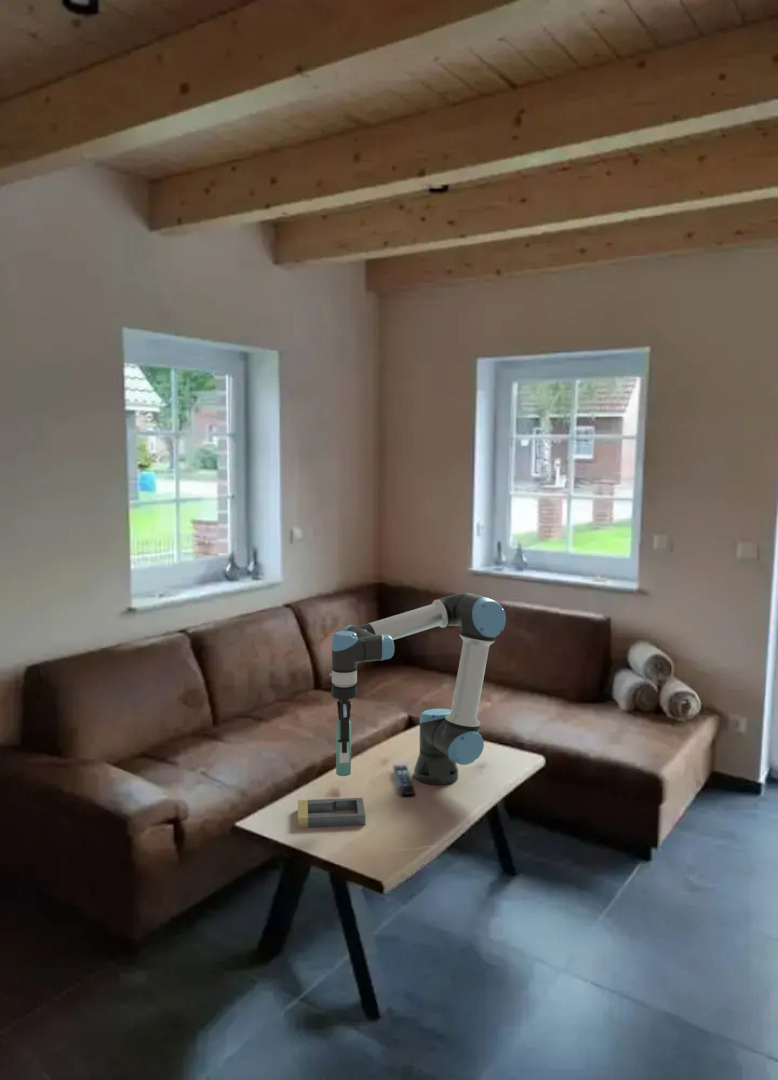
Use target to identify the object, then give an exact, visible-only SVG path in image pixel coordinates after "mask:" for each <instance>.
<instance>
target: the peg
mask: <svg viewBox="0 0 778 1080" xmlns="http://www.w3.org/2000/svg"><path fill="white" fill-rule="evenodd" d="M335 730H336V731H335V733H336V736H335V737H336V738H335V740H336V741H335V744H336V745H335V748H336V750H335V751H336V752H335V754H336V756H335V757H336V758H335V762H336V763H335V764H336V765H335V766H336V767H335V775H337V776H339V777H347V776H350V775H351V773H352V771H351V770H352V769H351V767H352V721H351V720H350V719H349V763H340V742H338V740H340V720H339V719H338V720H337V721H336V729H335Z"/></svg>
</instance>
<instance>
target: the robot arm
mask: <svg viewBox="0 0 778 1080" xmlns="http://www.w3.org/2000/svg"><path fill="white" fill-rule="evenodd" d="M506 620H507V619H506V612H505V609H504V608H503V607H502V605H501V604H500V603H499V602H498V601H496V600H494V599H492V598H490V597H485V596H481V595H477V594H475V593H472V592H460V593H455V594H450V595H448V596H445V597H441V598H438V599H434V600H433V601H432V603H431V604H428V605H425V606H424V605H423V606H421V607H419V608H415V609H412V610H409V611H405V612H403V613H402V612H401V613H399V614H395V615H391V616H389V617H386V618H382V619H379V620H375V621H372V622H369V623H364V624H361V625H356V624H354V625H353V624H348V625H346V626H344V627H343V628H342V630H341V631H337V632H334V633H333V634H332V637H331V647H330V648H331V649H330V650H331V672H330V673H329V677H331V683H332V684H331V691H330V692H331V697H332V698H334V699H336V700H337V701H336V705H337V715H338V720H340V740H338V742H340V763H349V720H350V718H351V709H352V704H351V699H354V698H356V697H357V695H358V693H357V692H358V691H357V690H358V689H357V687H358V686H357V682H358V669H357V668H358V667H357V666H358V664H359V663H366V662H377V661H384V660H390V659H392V657H393V656H394V653H395V643H394V640H397V639H401V638H405V637H406V636H407V637H408V636H410V635H414V634H417V633H420V632H424V631H426V630H429V629H433V628H436V627H440V628H446V627H450V626H451V627H452V626H454V627H455V626H457V627H460V630H459V631H460V632H459V636H460V639H462V646H461V652H460V658H459V663H458V669H457V674H456V680H455V686H454V692H453V697H452V702H451V703H452V704H451V709H448V708H431V709H427V710H424V711H422V712H421V713H420V717H419V723H418V724H419V752H418V753H419V754H418V757H417V760H416V763H415V766H414V768H413V775H414V779H416V780H417V781H419V782H421V783H424V784H428V785H435V786H436V785H438V786H439V785H447V784H451V783H454V782H455V781H457V780H458V778H459V768H458V765H461V766H466V765H471V764H473V763H474V762H475V761H476V760H478V759H479V758H480V756H481V755H482V753H483V750H484V748H485V747H484V746H485V743H484V742H485V741H484V738H483V737H482V735H481V734H480V727H481V722H480V720H479V719H478V712H479V706H480V703H481V702H480V701H481V695H482V689H483V686H484V684H483V683H484V677H485V673H486V667H487V666H486V665H487V662H488V655H489V650H490V646H491V645H492V644H494V643H495V642H496V637H497V636H498V635H500V634H501V632H503V631H504V628H505V626H506ZM457 764H458V765H457Z"/></svg>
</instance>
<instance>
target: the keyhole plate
mask: <svg viewBox="0 0 778 1080" xmlns="http://www.w3.org/2000/svg"><path fill="white" fill-rule="evenodd" d="M363 800H364V799H363V797H351V798H350V797H348V798H347V797H345V798H325V799H323V798H322V799H321V798H320V799H302V800H301V799H300V800H297V829H301V828H302V829H304V828H305V829H306V828H328V827H329V828H330V827H350V826H366V810H365V805H364V801H363ZM347 810H348V811H349V810H356V813H355V812H354V813H339V814H338V813H335V811H347Z"/></svg>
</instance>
